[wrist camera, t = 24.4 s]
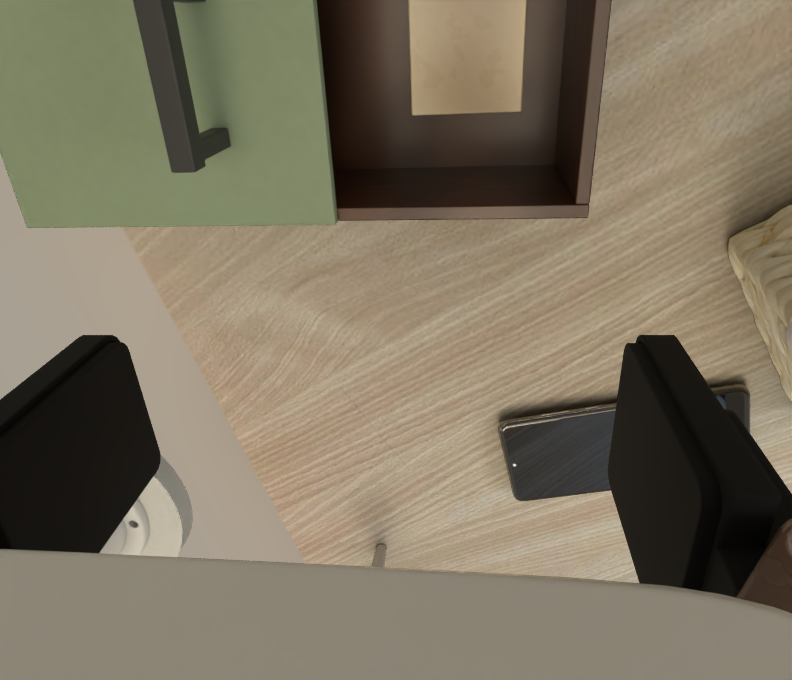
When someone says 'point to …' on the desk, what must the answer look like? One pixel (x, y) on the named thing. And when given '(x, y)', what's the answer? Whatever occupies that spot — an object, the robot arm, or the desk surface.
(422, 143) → the box
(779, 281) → the basket
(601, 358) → the desk surface
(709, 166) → the desk surface
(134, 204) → the lid
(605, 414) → the smartphone
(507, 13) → the block
